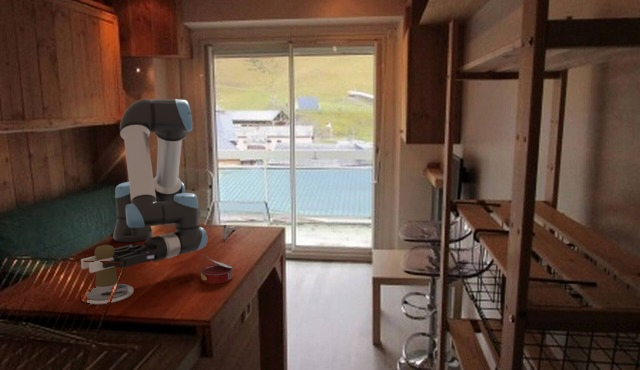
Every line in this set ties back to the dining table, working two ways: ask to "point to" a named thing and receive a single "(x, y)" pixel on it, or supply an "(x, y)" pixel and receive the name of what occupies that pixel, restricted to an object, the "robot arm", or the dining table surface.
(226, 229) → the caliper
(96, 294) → the seat plate
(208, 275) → the canned food
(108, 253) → the cork
